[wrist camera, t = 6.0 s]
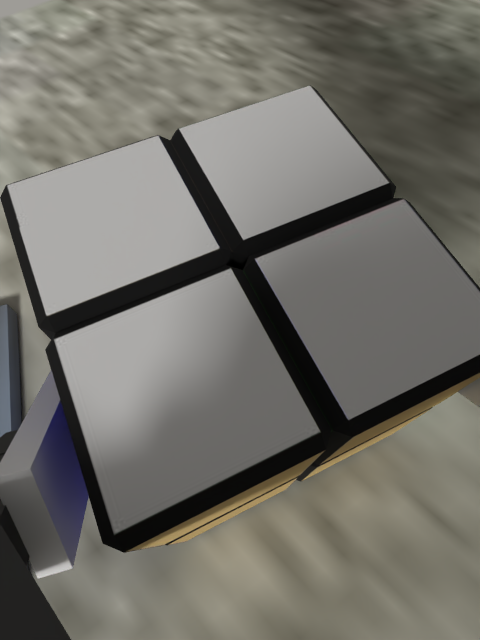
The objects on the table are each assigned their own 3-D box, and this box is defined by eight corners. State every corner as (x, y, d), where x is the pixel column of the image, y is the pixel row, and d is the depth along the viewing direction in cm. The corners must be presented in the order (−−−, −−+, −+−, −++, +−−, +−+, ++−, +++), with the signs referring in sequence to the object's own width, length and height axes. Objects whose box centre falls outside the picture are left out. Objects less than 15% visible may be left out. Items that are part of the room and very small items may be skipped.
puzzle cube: (100, 332, 21) (-10, 181, 12) (285, 256, 23) (313, 74, 14) (178, 546, 17) (102, 563, 8) (396, 432, 19) (539, 341, 10)
